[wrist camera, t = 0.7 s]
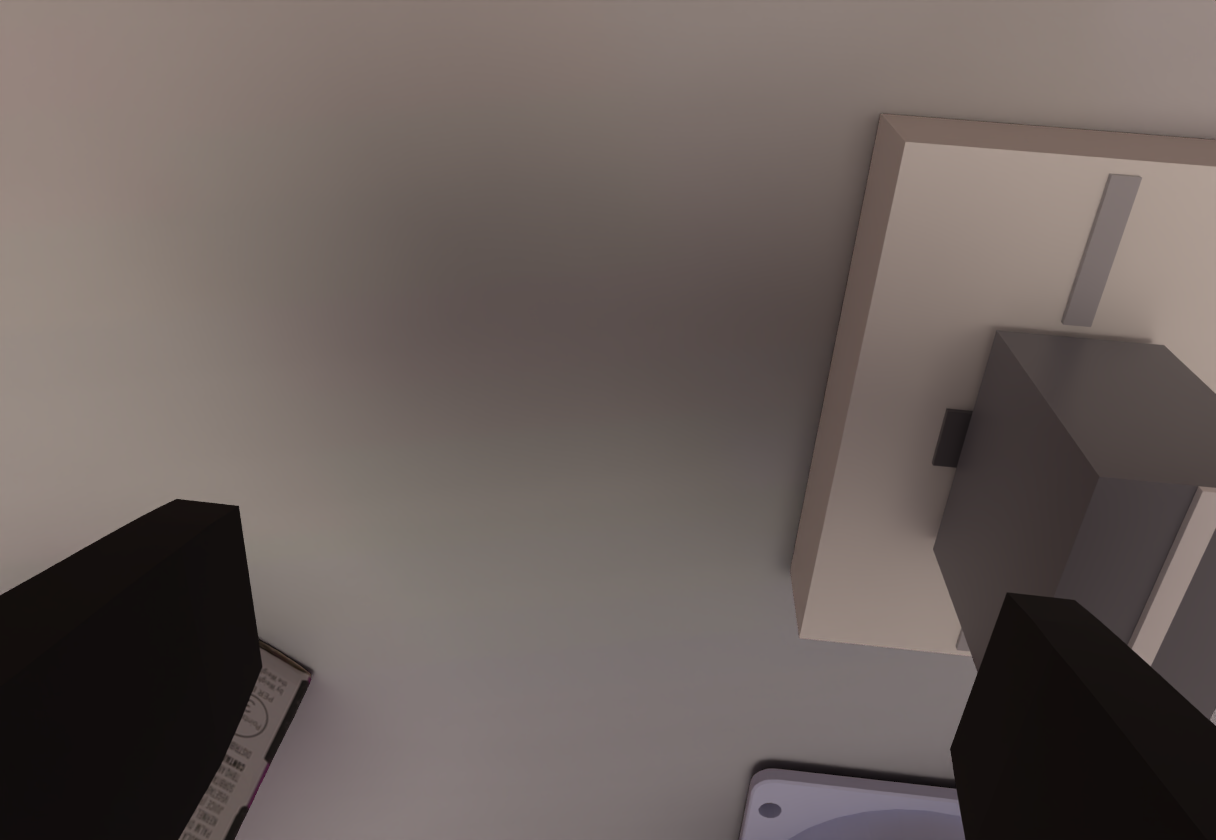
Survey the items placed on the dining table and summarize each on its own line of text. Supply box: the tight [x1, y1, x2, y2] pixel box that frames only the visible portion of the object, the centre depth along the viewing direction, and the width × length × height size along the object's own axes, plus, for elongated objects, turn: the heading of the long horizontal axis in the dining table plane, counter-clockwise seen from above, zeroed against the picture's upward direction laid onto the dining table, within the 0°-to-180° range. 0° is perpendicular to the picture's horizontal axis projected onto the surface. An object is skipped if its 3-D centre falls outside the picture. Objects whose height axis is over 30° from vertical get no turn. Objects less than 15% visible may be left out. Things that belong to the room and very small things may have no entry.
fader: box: [933, 330, 1216, 720], centre depth 13 cm, size 4×2×4 cm, turn 177°
